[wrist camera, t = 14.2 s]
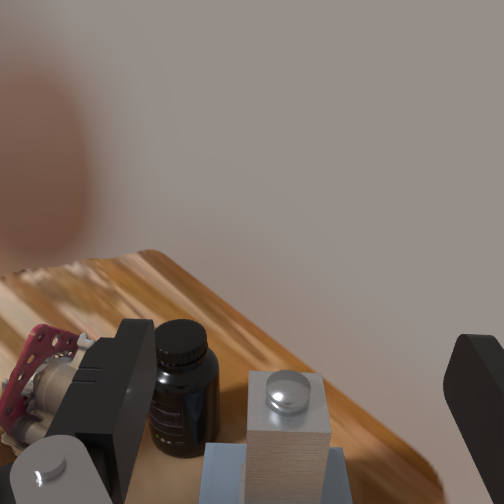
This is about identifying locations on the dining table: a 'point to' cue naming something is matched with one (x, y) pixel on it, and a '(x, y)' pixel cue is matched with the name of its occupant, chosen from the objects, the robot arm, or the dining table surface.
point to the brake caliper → (39, 384)
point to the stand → (232, 455)
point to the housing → (285, 439)
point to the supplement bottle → (184, 390)
